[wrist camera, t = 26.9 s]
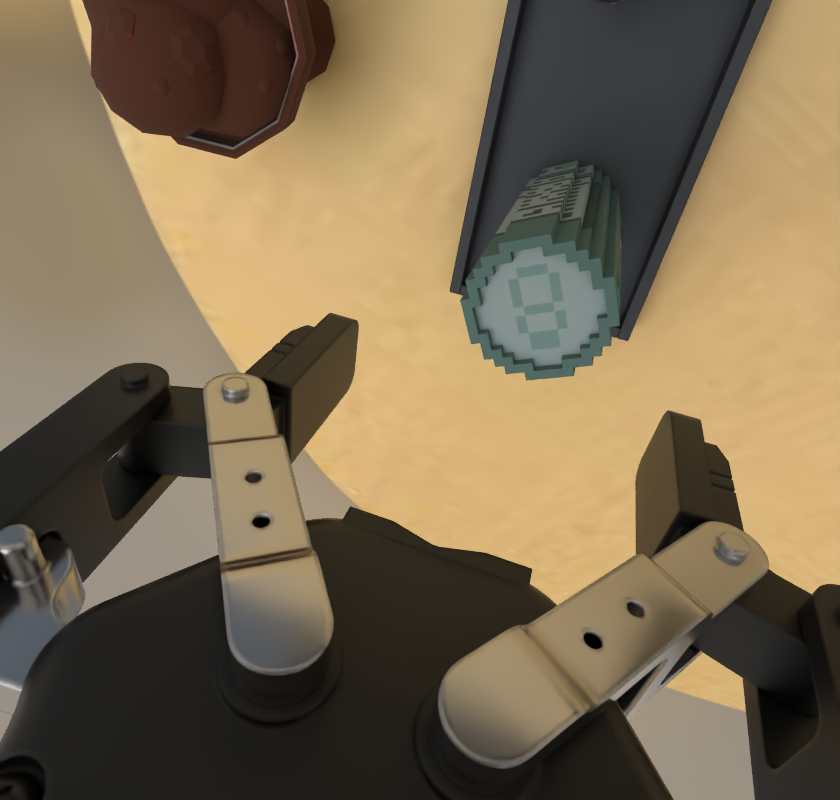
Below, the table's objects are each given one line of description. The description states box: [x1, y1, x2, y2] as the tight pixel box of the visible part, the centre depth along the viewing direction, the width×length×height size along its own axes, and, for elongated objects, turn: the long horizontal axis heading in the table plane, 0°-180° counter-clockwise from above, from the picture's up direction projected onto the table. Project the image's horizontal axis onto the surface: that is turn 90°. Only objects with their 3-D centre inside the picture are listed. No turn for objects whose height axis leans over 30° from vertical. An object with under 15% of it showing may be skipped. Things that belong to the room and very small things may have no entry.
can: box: [460, 160, 622, 380], centre depth 29 cm, size 6×6×15 cm
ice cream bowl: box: [83, 0, 335, 159], centre depth 29 cm, size 11×11×15 cm
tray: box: [450, 0, 772, 341], centre depth 31 cm, size 12×26×2 cm, turn 171°
